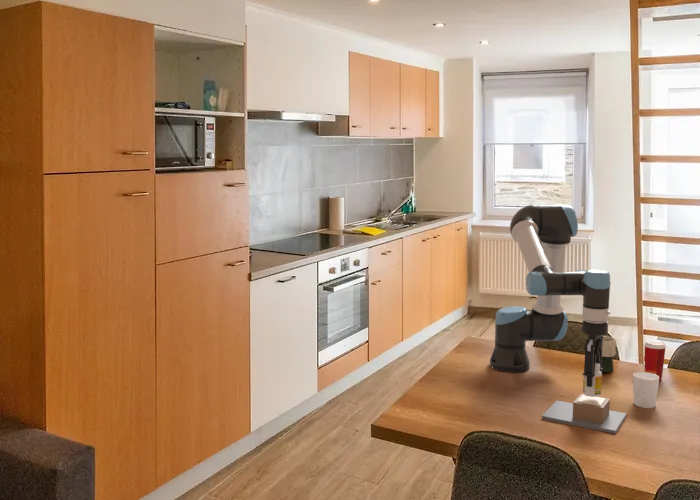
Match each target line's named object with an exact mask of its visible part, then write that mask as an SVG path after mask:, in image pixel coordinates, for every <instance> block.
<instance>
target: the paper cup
mask: <svg viewBox="0 0 700 500" xmlns="http://www.w3.org/2000/svg"><path fill="white" fill-rule="evenodd" d="M643 347H644V372H648V373H653V374H656V375H658V376H659V382H661V381H662V378H663V371H664V364H665V355H666V348H667V345H666V343H665V342H664V341H661V340H657V339H655V340H654V339H648V340H645V342H644V343H643Z"/></svg>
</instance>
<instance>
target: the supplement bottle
mask: <svg viewBox="0 0 700 500" xmlns="http://www.w3.org/2000/svg"><path fill="white" fill-rule="evenodd" d="M602 373H603V372H601V371H600V364H598V363H596V364H595V373H594V374H595V394H594V397H601V395H602V384H603V374H602ZM585 379H586V376H584V375H583V379H582V380H583V381H582V394H585Z"/></svg>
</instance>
